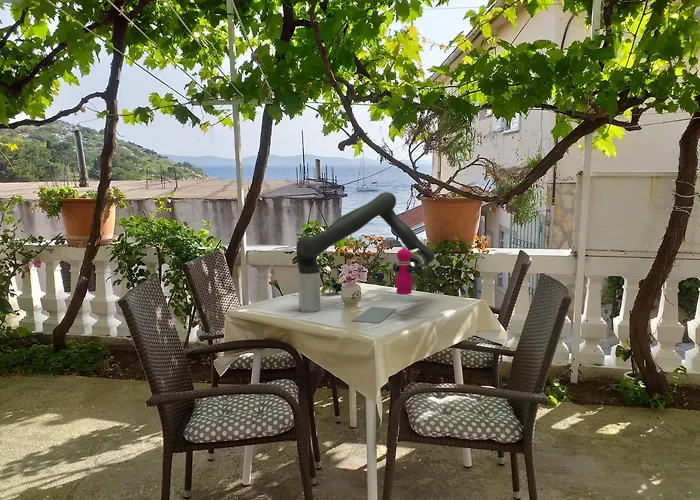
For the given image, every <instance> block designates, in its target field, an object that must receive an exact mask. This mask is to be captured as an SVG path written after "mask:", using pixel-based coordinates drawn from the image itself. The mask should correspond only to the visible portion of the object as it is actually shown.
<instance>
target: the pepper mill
mask: <svg viewBox="0 0 700 500" xmlns="http://www.w3.org/2000/svg"><path fill="white" fill-rule="evenodd" d="M412 255H413V254H412V251H409V250H408V249H407V248H406V246H405V245H404V244H403V245H402V246H401V249H399V250H398V251H397V254H396V259H397V260H398V262H397V265H399V271H398V272H397V275H396V278H395V286H396V287H397V288H396V294H398V295H410V294H412V292H413V291H412V290H413V289H412V288H411V287H412V286H413V284H414V280H413V277H412V274H410V273H408V268H409V264H410V261H409V260H410V259H411V256H412Z"/></svg>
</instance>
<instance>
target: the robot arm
mask: <svg viewBox="0 0 700 500" xmlns="http://www.w3.org/2000/svg"><path fill="white" fill-rule="evenodd" d="M396 204H397V198H396V196H395V195H394V194H393V193H392V192H390V191H389V192H388V191H384V192H382V193H379V194H378V195H377V196H376V197H375V198H373V199H372V200H370V201H369V202H367V203H366V204H364V205H362V206H359V207H357V208H356V209H354V210H350V212H347V213H346V214H344V215H342V216H341V217H339V218H337V219H335V221H333V222H332V224H331V225H329V227H328V228H327V229H325V230H323V231H322V232H319V233H318V234H316V235H314V236H309V235H304V236H301V237H300V238H299V239H298V240H297V242H296V247H295V248H296V264H297V267H298V275H299V276H298V277H299V278H298V281H299V286H298V287H299V288H298V308H299V309H298V310H299V311H300V312H302V313H304V312H305V313H306V312H307V313H311V312H312V313H314V312H318V311H320V310H322V308H321V304H322V303H321V293H320V291H321V274H320V272H321V271H320V265H319V263H318V260H317V256H319V255H321V254H322V253H323V252H325V251H326V250H327V249H328V248H330V247H332V246H333V245H334V244H336V243H339V242H341V241H342V240H344V239H345V238H347V237H350V236H351V235H352V234H355V233H356V232H358V231H359V230H360V229H362V228H363V227H365V226H366V225H368V223H369V222H371V221H372V220H373V219H375V218H376V217H378V216H379V217H380V218H381V219H382V220H383V221H384V222H385V223H387V225H388V226H389V227H390V228H391V229H392V231H393V232H394V233H395V234H396V236H398V238H399V239H400V240H401V242H402V244H403V245H405V246H406V249H407V250H409V251H410V252H412V251H414V250H416V249H417V250H420V251H418V252H417V253H415V254H411V255H412V256H411V259H410V260H409V261H410V264H409V268H408V273H410V274H411V275H413V274H417V273H419V272H423V271H425V266H428V265H429V264H430V263H432V262H433V261H434V260H435V258H436V257H435V253H434V251H433V250H432V249H431V248H429V246H426V244H424V243H423V242H422V241H421V240H420V238H418V236H417V234H416V233H415V232H414V230H413V229H412V228H411V227H410V226H408V225H407V224H406V223H405V222H404V221H403V220H402V219H400V217H398V215H397V213H396V212H395V211H394V209H395V207H396ZM392 271H393V272H394V273H398V272H399V264H398V262H393V264H392Z"/></svg>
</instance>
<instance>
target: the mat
mask: <svg viewBox="0 0 700 500" xmlns="http://www.w3.org/2000/svg"><path fill="white" fill-rule="evenodd" d="M397 309H398V308H392V307H380V306H371V307H369V308H368V309H366V310H365V311H363V312H362V313H361V314H359V315H357V316H355V318H353V319H351V322H355V321H359V322H358V323H365V322H370V323H369V324H376V323H378V324H379V323H380V324H381V323H382V322H383V321H384V320H386V319H388V317H390V316H391V315H392V314H393V313H395V312H396V311H397ZM380 324H379V325H380Z"/></svg>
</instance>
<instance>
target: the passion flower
mask: <svg viewBox="0 0 700 500" xmlns="http://www.w3.org/2000/svg"><path fill="white" fill-rule="evenodd" d="M339 278H340V277H339V276H336V275H335V276H334V275H333V276H332V277H331V278H325V279H324V282H323V283H324V284H323V286H322V288H321V289H320V294H322V295H324V294H325V292H326V291H328V293H329V294H331V293H332V295H331V297H333V296H334V294H335V293H336V294H338V293H341V290H342V289H341V287H342V283H343V282H342V283H340V282H339ZM331 291H332V292H331Z"/></svg>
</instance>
